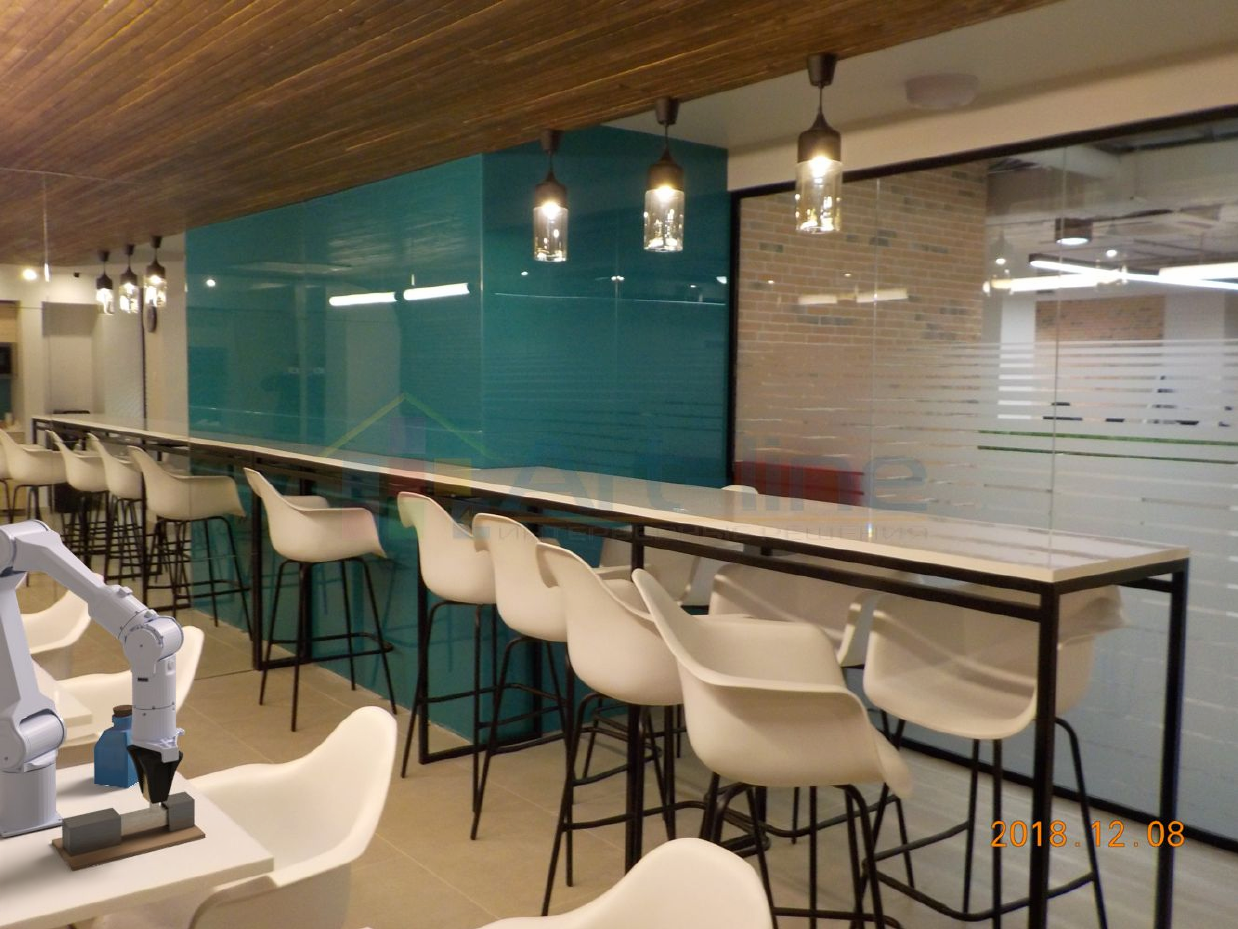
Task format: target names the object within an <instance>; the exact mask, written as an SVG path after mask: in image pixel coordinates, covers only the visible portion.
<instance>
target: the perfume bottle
mask: <svg viewBox="0 0 1238 929" xmlns="http://www.w3.org/2000/svg"><path fill="white" fill-rule="evenodd" d="M112 711H113V714H112V715H111V723H113V726H111V727H109V728H107V729H104V731H103V732H102V734H101V735H100V736H99V738H98V739H97V741H96V743H95V745H94V746H93V784H99V785H98V786H103V785H109V786H108V787H112V786H117V787H116V788H121V787H124V789H129V787H130V786H132V785H133V786H135V785H136V784H135V783H137V782H138V777H137V773H136V769H135V766H134V763H133V761H132V759H131V757H130V755H129V753H128V752H127V750H126V747H127V746H129V745H133V744H132V743H131V734H132V704H119V705H116V706H114V707H113V708H112ZM134 784H135V785H134ZM137 784H138V783H137ZM133 786H132V787H133ZM130 788H131V787H130Z"/></svg>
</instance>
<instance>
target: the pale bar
mask: <svg viewBox="0 0 1238 929" xmlns="http://www.w3.org/2000/svg"><path fill="white" fill-rule="evenodd" d="M142 798H144V799H145V800H146V802H148V803H149V805H148V806H149V807H148V808H144V809H139V810H135V811H134V810H133V811H129V812H125V813H121V814H120V813H119V815H120V816H121V836H122V835H126V834H130V833H135V832H139V831H143V830H147V829H151V828H155V827H160V826H164V825H168V824H169V808H168V807H167V806H166V805H165V804H164V805H161V804H160V803H156V804H152V803H151V801H150V797H149V792H148V785H147V779H146V775H145V773H143V794H142Z"/></svg>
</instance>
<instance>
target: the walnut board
mask: <svg viewBox="0 0 1238 929" xmlns="http://www.w3.org/2000/svg"><path fill="white" fill-rule="evenodd" d="M205 838H206V833H205V832H204V831H203V830H202V829H201V828H200V827H198V826H197V825H196V824H195V827H191V828H187V829H183V830H179V831H175V832H171V833H170V832H169V831H167V830H166V829H165V828H164V827H163V826H160V827H155V828H151V829H147V830H143V831H139V832H135V833H130V834H126V835H122V836H121V845H118V846H114V847H109V848H105V849H101V850H97V851H93V852H89V853H85V854H81V855H77V856H73V857H69V855H68V854H67V853H66V851H65V850H64V849H63V847H62V836H61V837H58V838H53V839H51V844H52V845H53V846H54V848H55V849H56V850H57V852H58V854H59V855H60V856H61V857H62V859H63V860H64V861H65V863H66V862H67V863H66V864H67V865H68V866H69V868H70V869H71V871H73V872H74V871H78V870H82V869H86V868H89V867H94V866H93V865H95V866H98V865H97V864H99V865H102V864H106V863H110V862H113V861H117V860H121V859H126V858H130V857H134V856H137V855H141V854H145V853H149V852H153V851H156V850H157V849H158V850H160V849H161V850H162V849H165V848H169V847H173V846H178V845H181V844H185V843H189V842H193V841H196V840H197V841H198V840H200V839H205ZM101 863H102V864H101Z"/></svg>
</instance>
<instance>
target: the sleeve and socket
mask: <svg viewBox="0 0 1238 929" xmlns="http://www.w3.org/2000/svg"><path fill="white" fill-rule="evenodd" d="M195 802H196V801H195V798H193V797H192V796H191V795H190V794H189V793H187V791H182V792H178V793H177V792H176V793H172V794H169V797H168V800H167V801H164V802H160V805H164V804H165V805H166V806H167V807H168V808H169V824H168V825H164V826H163V827H164V828H165V829H166V830H167V831H169V832H170V833H171V832H175V831H179V830H183V829H187V828H191V827H195V825H196V824H195V822H196V819H195V816H196V815H195V814H196V812H195V811H196V807H195V805H196V803H195ZM61 830H62V831H61V837H62V847H63V849H64V850H65V851H66V853H67V854H68V855H69V857H73V856H77V855H81V854H85V853H89V852H93V851H97V850H101V849H105V848H109V847H114V846H118V845H121V816H120V813H118V811H117V810H116V809H115V808H114V807H108V808H105V809H100V810H95V811H92V812H86V813H82V814H78V815H72V816H68V817H64V818H63V819H62V825H61Z"/></svg>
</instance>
